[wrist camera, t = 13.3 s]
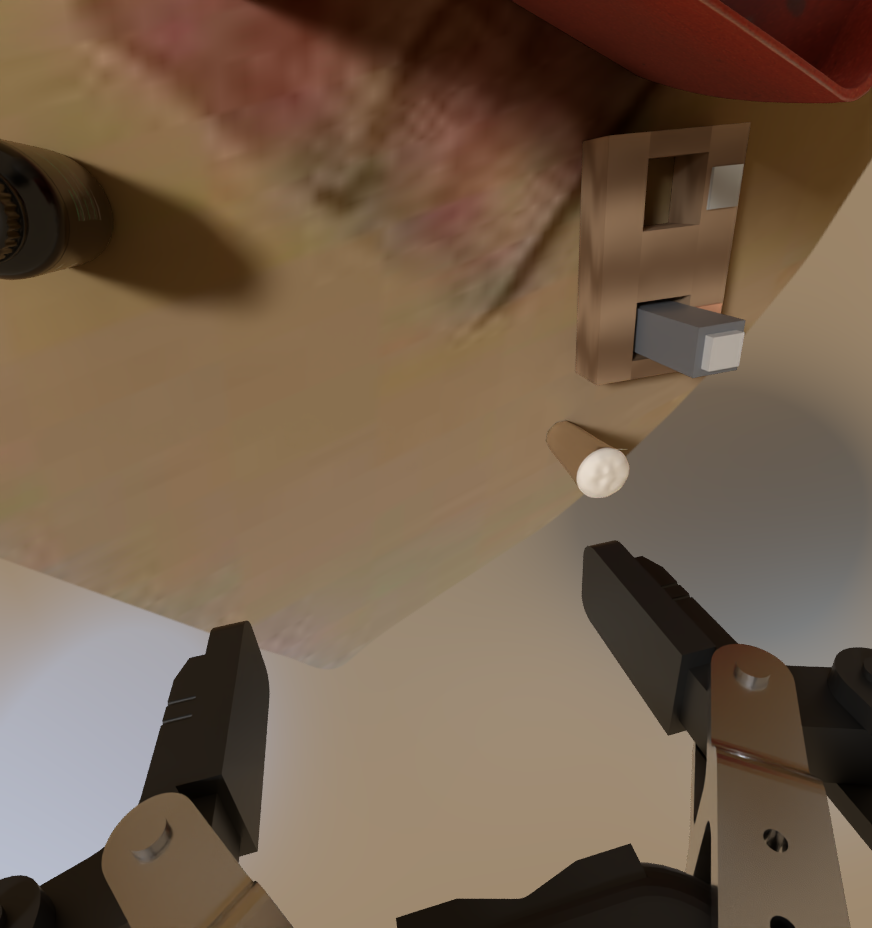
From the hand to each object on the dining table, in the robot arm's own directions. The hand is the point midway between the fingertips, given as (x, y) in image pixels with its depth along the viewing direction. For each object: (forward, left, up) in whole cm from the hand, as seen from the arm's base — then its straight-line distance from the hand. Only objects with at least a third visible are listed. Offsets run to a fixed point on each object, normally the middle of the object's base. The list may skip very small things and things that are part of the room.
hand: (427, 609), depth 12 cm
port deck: (-2, +26, -33) cm, 42 cm away
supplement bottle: (-10, -17, -33) cm, 39 cm away
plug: (+3, +25, -33) cm, 42 cm away
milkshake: (+13, +19, -33) cm, 40 cm away
